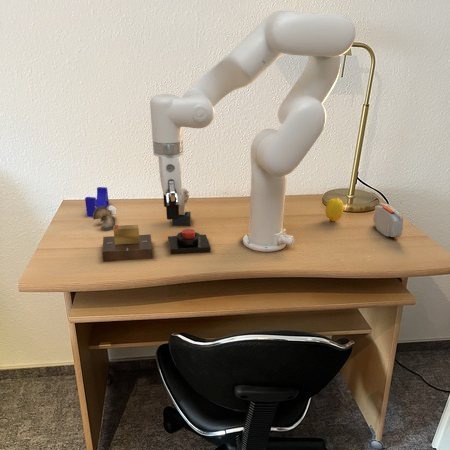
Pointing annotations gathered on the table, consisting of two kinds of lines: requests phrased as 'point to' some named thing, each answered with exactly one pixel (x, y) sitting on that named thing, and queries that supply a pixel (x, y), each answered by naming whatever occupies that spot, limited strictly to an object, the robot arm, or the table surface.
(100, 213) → the eagle figurine
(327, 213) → the lemon
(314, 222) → the table surface
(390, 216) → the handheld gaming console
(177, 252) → the button block
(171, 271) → the table surface
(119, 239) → the tan bar
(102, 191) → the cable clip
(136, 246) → the panel
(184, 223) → the watch
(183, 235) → the button
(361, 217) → the table surface
